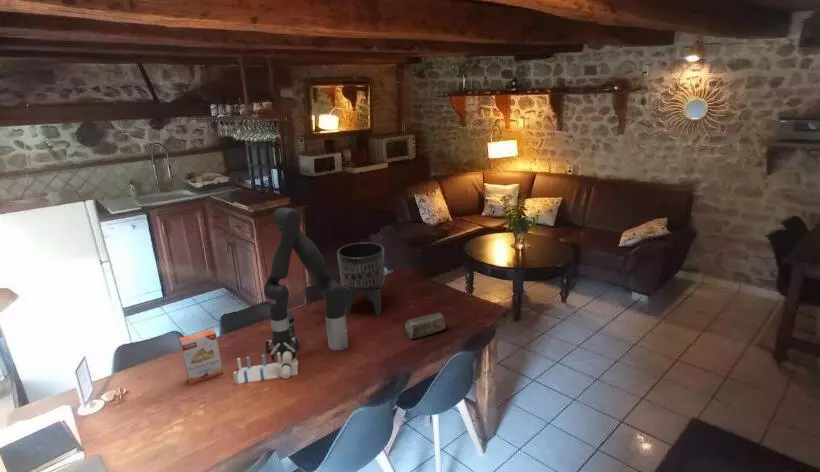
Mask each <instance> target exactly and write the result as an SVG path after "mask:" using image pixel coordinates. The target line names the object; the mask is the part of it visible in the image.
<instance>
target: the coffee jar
mask: <svg viewBox="0 0 820 472" xmlns="http://www.w3.org/2000/svg"><path fill="white" fill-rule="evenodd" d="M287 315H288V320H289V328H290V336H291V337H295V336H297V335H296V330H295V323H296V320H295V317H294V314H293V313H292V312H291V311H289V312H287ZM291 343H292V344H293V346H294V347H296V343H295V342H294V341H293V340H292V341H291ZM276 351H277V353H278V352H280V354H283V353H284V352H286V351H289V352H292V350H291V349H289V348H288V347H286V348H281V349H279V348H277V350H276Z"/></svg>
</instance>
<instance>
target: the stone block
mask: <svg viewBox="0 0 820 472" xmlns="http://www.w3.org/2000/svg"><path fill="white" fill-rule="evenodd" d="M404 324H405V325H404V328H405V332H406V334H407V337H408V338H409V339H411V340H414V339H419V338H422V337H426V336H428V335H431V334H432V335H433V334H435V333H438V332H441V331H444V330H445V329H446V328H447V327H446V320H445V317H444V315H443V314H442V313H441V312H436V313H433V314H429V315H424V316H419V317H415V318H410V319H408V320H406V321H405V323H404Z"/></svg>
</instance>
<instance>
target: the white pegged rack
mask: <svg viewBox="0 0 820 472" xmlns="http://www.w3.org/2000/svg"><path fill="white" fill-rule="evenodd" d="M276 355H277V362H272V363H267V361H266V353H264V354H261V359H262V364H260V365H259V364H258V365H253V366H252V365H251V359H250V356H246V357H245V358H246V363H247V366H245V367H242V360H241V358H240V357H237V358H236V361H237V367H238V370H237V371H233V378H234V383H235V384H237V385H238V384H242V383H249V382H250V383H251V382H258V381H263V380H264V381H265V380H269V379H277V378H282V377H281V369H282V357H281V356H282V355H281V353H280V352H278V351H277V353H276ZM298 366H299V360H298V359H297V357H296V358H295V359H293V358H292V360H291V375H290V377H291V376H297V375H298V372H299V371H298Z"/></svg>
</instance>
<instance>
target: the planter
mask: <svg viewBox="0 0 820 472" xmlns="http://www.w3.org/2000/svg"><path fill="white" fill-rule="evenodd" d="M336 254H337V255H336V256H337V262H338V263H337V264H338V269H339V275H340V276H339V277H340V283H341V287H343V289H344V291H345V299H346V309H345V315H350V314H351V311H352V309H351V308H352V303H353V301H354V299H355V298H356V297H357V296H358V295H359V294H361V293H365V294H364V295H365V300H366V303H371V302H372V304H373V307H374V314H375V315H376V314H377V315H376V316H379V315H381V314H382V293H381V291H382V290H381V287H382V286H383V284H384V282H385V248H384V246H383V245H381V244H379V243H376V242H368V241H367V242H366V241H365V242H364V241H362V242H354V243H350V244H349V243H348V244H346V245H343V246H341V247H340V248H339V249H338V250H337V251H336ZM371 300H372V301H371Z"/></svg>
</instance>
